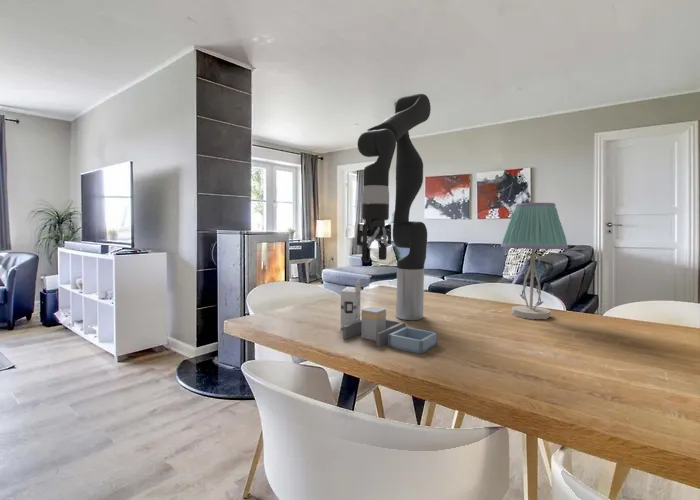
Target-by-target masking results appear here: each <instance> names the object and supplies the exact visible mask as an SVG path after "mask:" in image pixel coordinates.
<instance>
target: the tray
mask: <svg viewBox="0 0 700 500" xmlns="http://www.w3.org/2000/svg"><path fill="white" fill-rule="evenodd" d="M387 344H388V346H387V347H389V348H392V349H398V350H402V351H406V352H410V353H415V354H418V355H422V354H424V353H426V352H428V351H429V350H430V349H432V348H434V347H435V346H437V345H438V332H435V331H430V330H425V329H419V328H414V327H410V326H409V327H408V326H406V327H404V328H402V329H400V330H398V331H395V332H393V333H391V334H389V335H388V343H387Z"/></svg>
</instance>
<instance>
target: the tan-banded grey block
mask: <svg viewBox="0 0 700 500" xmlns="http://www.w3.org/2000/svg"><path fill="white" fill-rule="evenodd" d="M386 316H387V309H386V308H383V307H382V308H380V307H375V306H370V307H367V308H364V309H361V312H360V318H361V320H362V324H361V333H360V334H361V337H360V338H362V339H367V340H371V341H374V342H376V333H378V332H380V331H383V330H385V329H386V319H387V317H386Z"/></svg>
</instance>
